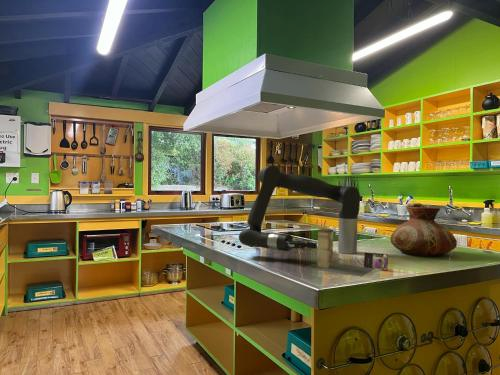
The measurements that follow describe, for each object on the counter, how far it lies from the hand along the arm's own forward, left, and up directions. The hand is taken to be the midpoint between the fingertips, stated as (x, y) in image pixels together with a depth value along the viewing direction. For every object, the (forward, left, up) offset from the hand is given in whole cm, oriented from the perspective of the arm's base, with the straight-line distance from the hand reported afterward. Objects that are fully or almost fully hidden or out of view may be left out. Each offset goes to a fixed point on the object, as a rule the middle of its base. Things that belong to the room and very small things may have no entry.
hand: (316, 245), depth 155 cm
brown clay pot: (-61, +30, -9) cm, 69 cm away
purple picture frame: (-11, +21, -9) cm, 25 cm away
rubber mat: (0, +10, -9) cm, 13 cm away
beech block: (0, +4, -8) cm, 9 cm away
